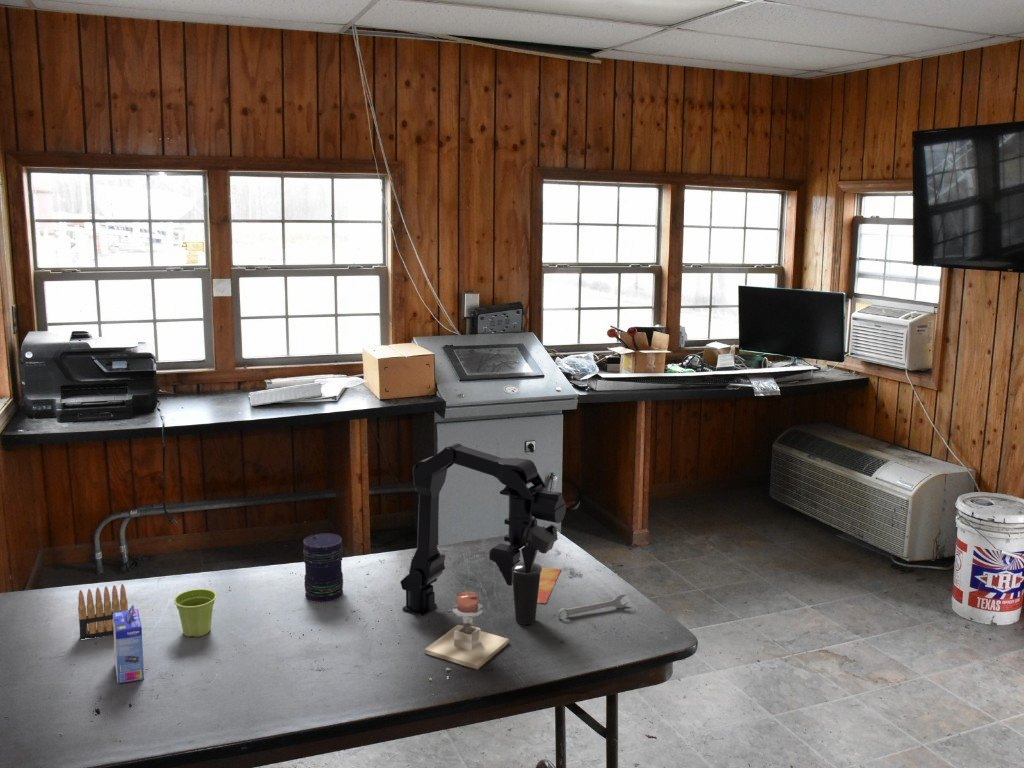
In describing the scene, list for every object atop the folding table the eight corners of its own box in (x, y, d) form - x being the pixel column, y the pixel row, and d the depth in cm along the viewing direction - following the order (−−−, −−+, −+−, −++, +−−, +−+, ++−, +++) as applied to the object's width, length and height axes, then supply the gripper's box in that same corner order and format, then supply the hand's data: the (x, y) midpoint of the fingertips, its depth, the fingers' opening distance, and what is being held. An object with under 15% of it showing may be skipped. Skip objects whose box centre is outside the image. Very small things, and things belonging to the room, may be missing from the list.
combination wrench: (559, 609, 216) (629, 594, 223) (556, 606, 217) (627, 592, 224) (559, 623, 216) (629, 608, 224) (556, 620, 218) (627, 605, 225)
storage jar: (351, 592, 230) (350, 538, 227) (324, 606, 222) (323, 550, 219) (323, 583, 235) (322, 530, 232) (296, 596, 227) (294, 541, 224)
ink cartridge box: (146, 679, 187) (141, 616, 184) (117, 685, 184) (112, 621, 181) (141, 658, 195) (137, 597, 192) (114, 663, 193) (109, 602, 190)
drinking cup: (538, 628, 212) (539, 549, 208) (507, 625, 213) (507, 547, 209) (543, 615, 219) (544, 538, 215) (513, 612, 220) (514, 536, 217)
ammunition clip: (130, 628, 209) (126, 581, 206) (130, 632, 207) (126, 584, 204) (80, 637, 204) (76, 589, 202) (80, 640, 203) (75, 592, 200)
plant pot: (225, 631, 208) (223, 597, 206) (187, 645, 201) (185, 610, 200) (206, 618, 214) (204, 585, 213) (168, 631, 208) (166, 597, 206)
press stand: (424, 653, 199) (424, 634, 198) (458, 628, 211) (458, 610, 210) (477, 669, 193) (477, 650, 192) (508, 642, 205) (509, 625, 204)
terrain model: (560, 571, 247) (560, 569, 246) (545, 605, 225) (545, 603, 225) (475, 561, 252) (475, 559, 252) (452, 594, 231) (452, 592, 230)
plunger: (446, 627, 200) (446, 598, 198) (462, 615, 206) (462, 586, 204) (472, 634, 196) (472, 605, 195) (488, 622, 202) (488, 593, 201)
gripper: (532, 534, 190) (531, 601, 193) (569, 509, 206) (567, 571, 209) (488, 524, 195) (487, 590, 199) (527, 501, 211) (526, 561, 215)
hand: (519, 578), depth 205 cm, fingers open, 9 cm apart
